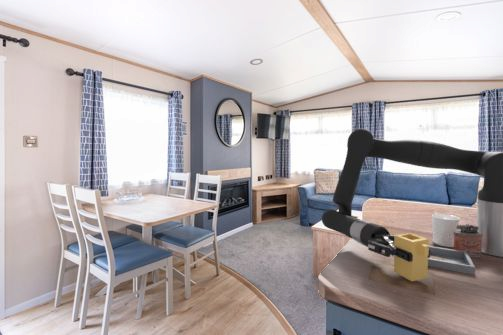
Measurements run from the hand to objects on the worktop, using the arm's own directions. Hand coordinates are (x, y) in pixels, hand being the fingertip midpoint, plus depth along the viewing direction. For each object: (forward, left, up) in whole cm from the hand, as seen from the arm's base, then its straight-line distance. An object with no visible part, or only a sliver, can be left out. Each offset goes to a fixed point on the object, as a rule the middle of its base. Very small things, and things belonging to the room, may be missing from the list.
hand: (420, 256), depth 61 cm
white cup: (-9, -39, -9) cm, 41 cm away
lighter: (-14, -31, -9) cm, 35 cm away
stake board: (+4, -2, -8) cm, 10 cm away
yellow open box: (+2, -2, -6) cm, 7 cm away
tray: (-7, -19, -8) cm, 21 cm away
